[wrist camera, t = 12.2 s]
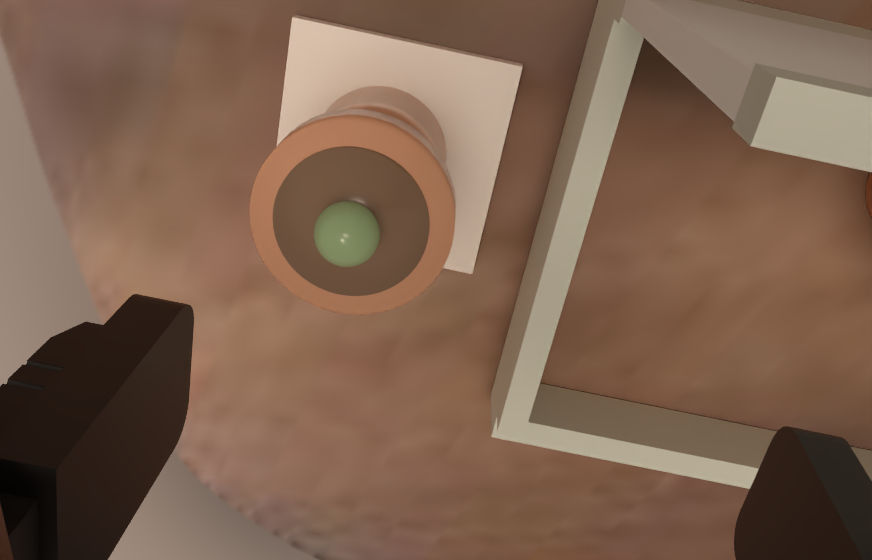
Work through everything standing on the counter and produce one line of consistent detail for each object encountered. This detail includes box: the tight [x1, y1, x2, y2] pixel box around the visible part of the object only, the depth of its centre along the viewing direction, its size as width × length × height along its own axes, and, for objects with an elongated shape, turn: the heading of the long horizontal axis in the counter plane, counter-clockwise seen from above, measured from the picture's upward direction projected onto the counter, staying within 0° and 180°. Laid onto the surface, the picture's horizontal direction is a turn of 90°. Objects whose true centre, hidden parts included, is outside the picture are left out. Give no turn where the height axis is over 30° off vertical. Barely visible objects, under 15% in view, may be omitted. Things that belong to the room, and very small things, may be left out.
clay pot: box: [249, 86, 456, 315], centre depth 26 cm, size 6×6×9 cm
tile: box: [277, 15, 523, 274], centre depth 30 cm, size 8×8×1 cm
